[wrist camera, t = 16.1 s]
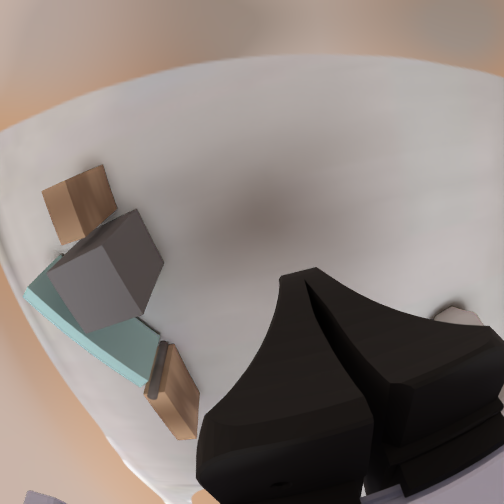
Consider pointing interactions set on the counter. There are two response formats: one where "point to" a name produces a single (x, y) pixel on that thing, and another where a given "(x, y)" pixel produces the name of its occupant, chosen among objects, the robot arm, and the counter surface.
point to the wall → (167, 357)
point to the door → (99, 333)
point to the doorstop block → (108, 273)
